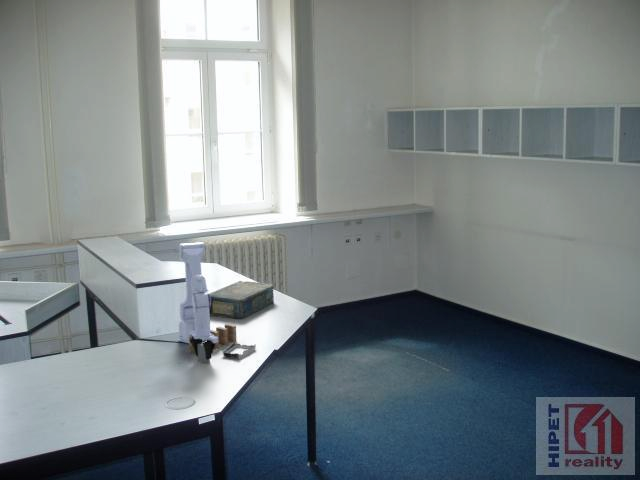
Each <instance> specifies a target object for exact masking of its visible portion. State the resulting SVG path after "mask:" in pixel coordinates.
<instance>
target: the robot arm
mask: <svg viewBox="0 0 640 480" xmlns="http://www.w3.org/2000/svg"><path fill="white" fill-rule="evenodd" d="M205 255H206V249H205V244H204V242H203V241H200V242H189V243H188V242H187V243H180V244H179V245H178V258H179V261H182V262H183V263H184V265H185V266H184V269H185V289H186V290H185V291H186V292H185V293H186V294H185V296H186V297H185V298H184V299H182V300H181V301H180V302H179V318H180V321H179V323H178V339H177V341H178V342H183V343H186V344H189V337H191V336H192V339H190V342H191V344H192V346H193V348H194V350H195V354H196V355H195V356H196V357H197V358H198V351H197V344H199V343H202V344H203V346H204V349H205V355H206V359H207V360H208V359H210V360H211V359H212V358H213V357H212V356H213V353H214V350H215V349H214V347H215V345H216V343H217V342H218V337H216V336H214V335H212V334H211V333H210V330H211V322H210V321H211V318H210V317H211V315H210V314H209V307H210V305H211V298H210V292H209V289H208V286H207V281H206V278H205V277H204V276H203V275H202V264H201V263H202V262H201V261H203V260H204V257H205ZM208 306H209V307H208Z"/></svg>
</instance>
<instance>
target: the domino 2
mask: <svg viewBox="0 0 640 480" xmlns="http://www.w3.org/2000/svg"><path fill="white" fill-rule="evenodd" d="M197 351H198V357H197V362H199V363H202V364H206V365H207V364H211V359H208V360H207V359H206V355H205V349H204V346H203V342H202V343H199V344H197Z"/></svg>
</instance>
